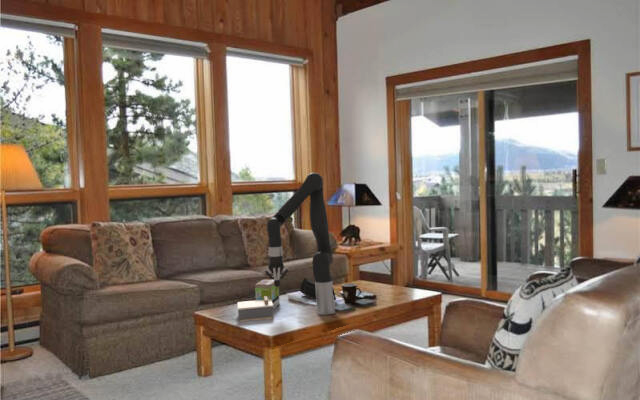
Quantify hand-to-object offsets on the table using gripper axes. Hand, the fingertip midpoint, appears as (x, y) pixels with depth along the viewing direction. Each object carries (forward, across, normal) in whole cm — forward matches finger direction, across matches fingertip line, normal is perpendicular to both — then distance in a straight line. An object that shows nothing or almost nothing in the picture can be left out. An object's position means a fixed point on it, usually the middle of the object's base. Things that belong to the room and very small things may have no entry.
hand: (277, 286), depth 301 cm
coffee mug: (+15, +43, +11) cm, 47 cm away
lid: (+9, -12, 0) cm, 15 cm away
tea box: (+16, -4, +19) cm, 25 cm away
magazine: (+15, +26, +28) cm, 41 cm away
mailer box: (+15, -12, 0) cm, 20 cm away
